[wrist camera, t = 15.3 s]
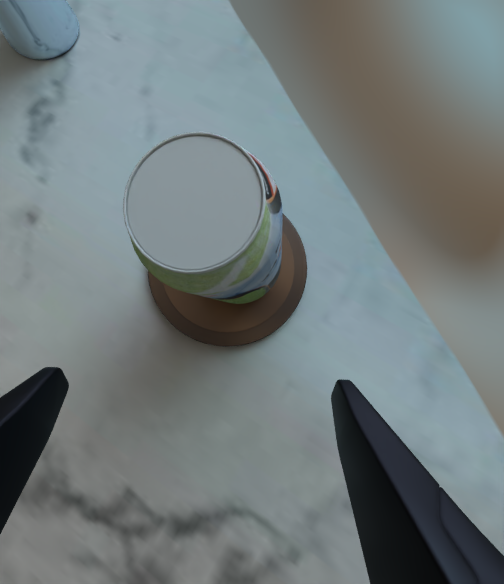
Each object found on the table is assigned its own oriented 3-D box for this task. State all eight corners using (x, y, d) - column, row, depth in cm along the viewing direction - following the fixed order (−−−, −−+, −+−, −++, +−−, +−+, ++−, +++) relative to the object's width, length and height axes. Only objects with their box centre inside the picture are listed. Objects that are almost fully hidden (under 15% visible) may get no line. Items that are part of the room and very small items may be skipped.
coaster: (271, 371, 21) (272, 372, 20) (123, 308, 21) (119, 307, 20) (326, 229, 22) (329, 226, 22) (190, 173, 23) (188, 167, 22)
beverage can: (294, 275, 21) (363, 199, 9) (213, 332, 20) (174, 330, 8) (245, 210, 22) (252, 60, 10) (165, 263, 21) (65, 168, 9)
